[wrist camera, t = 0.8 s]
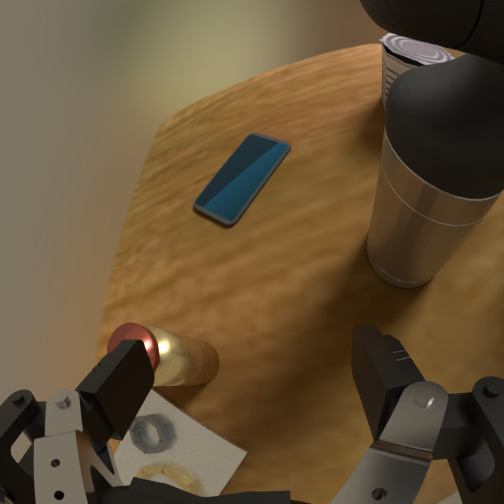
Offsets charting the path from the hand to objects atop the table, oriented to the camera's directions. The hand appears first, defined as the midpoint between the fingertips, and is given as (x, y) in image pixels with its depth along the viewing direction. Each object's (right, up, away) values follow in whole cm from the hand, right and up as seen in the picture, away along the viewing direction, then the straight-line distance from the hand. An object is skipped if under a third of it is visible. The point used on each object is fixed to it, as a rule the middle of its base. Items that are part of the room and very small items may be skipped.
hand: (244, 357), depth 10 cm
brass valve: (-6, -8, +20) cm, 22 cm away
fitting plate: (-10, -22, +15) cm, 29 cm away
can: (+27, +27, +26) cm, 46 cm away
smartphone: (-1, +14, +29) cm, 32 cm away
